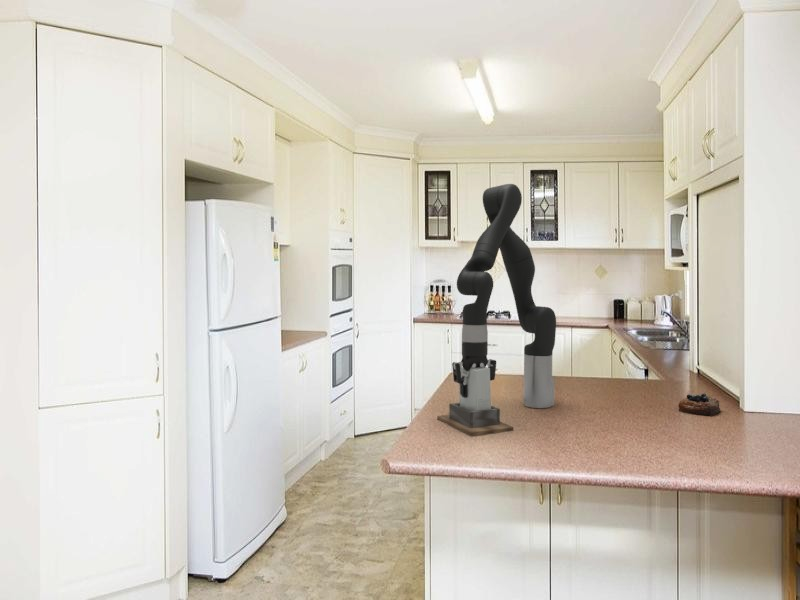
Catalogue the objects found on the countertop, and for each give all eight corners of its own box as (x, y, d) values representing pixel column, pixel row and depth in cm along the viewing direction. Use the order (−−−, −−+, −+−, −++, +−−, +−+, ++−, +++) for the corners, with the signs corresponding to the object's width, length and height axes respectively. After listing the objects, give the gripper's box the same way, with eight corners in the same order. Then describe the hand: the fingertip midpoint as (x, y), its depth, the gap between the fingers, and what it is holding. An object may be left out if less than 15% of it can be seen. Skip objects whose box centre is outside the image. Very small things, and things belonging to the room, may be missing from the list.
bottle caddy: (476, 414, 190) (476, 397, 189) (513, 430, 171) (513, 411, 171) (437, 419, 184) (437, 401, 184) (471, 436, 166) (471, 416, 165)
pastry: (723, 411, 194) (724, 393, 194) (711, 418, 186) (712, 399, 185) (687, 406, 202) (688, 388, 201) (674, 412, 193) (675, 394, 193)
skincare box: (491, 418, 176) (492, 367, 175) (476, 421, 172) (476, 369, 171) (473, 412, 183) (473, 363, 182) (457, 415, 179) (457, 365, 178)
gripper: (488, 336, 182) (488, 391, 184) (446, 339, 177) (446, 395, 178) (502, 339, 176) (502, 396, 177) (459, 342, 170) (459, 401, 171)
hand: (474, 395), depth 177 cm, fingers closed on skincare box, 6 cm apart
